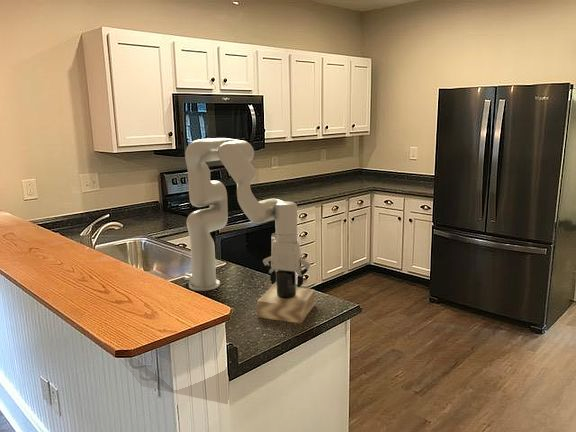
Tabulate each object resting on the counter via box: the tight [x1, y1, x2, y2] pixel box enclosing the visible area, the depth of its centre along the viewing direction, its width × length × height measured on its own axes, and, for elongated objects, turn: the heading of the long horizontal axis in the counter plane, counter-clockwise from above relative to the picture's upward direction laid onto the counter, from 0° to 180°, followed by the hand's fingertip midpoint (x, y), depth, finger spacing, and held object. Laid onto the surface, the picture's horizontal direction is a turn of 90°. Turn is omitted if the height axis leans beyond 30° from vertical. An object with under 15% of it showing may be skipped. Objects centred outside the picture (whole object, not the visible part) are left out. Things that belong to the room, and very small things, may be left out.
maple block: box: [256, 285, 315, 324], centre depth 165 cm, size 16×16×6 cm
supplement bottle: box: [276, 270, 297, 298], centre depth 163 cm, size 7×7×12 cm
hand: (286, 284), depth 163 cm, fingers open, 9 cm apart
